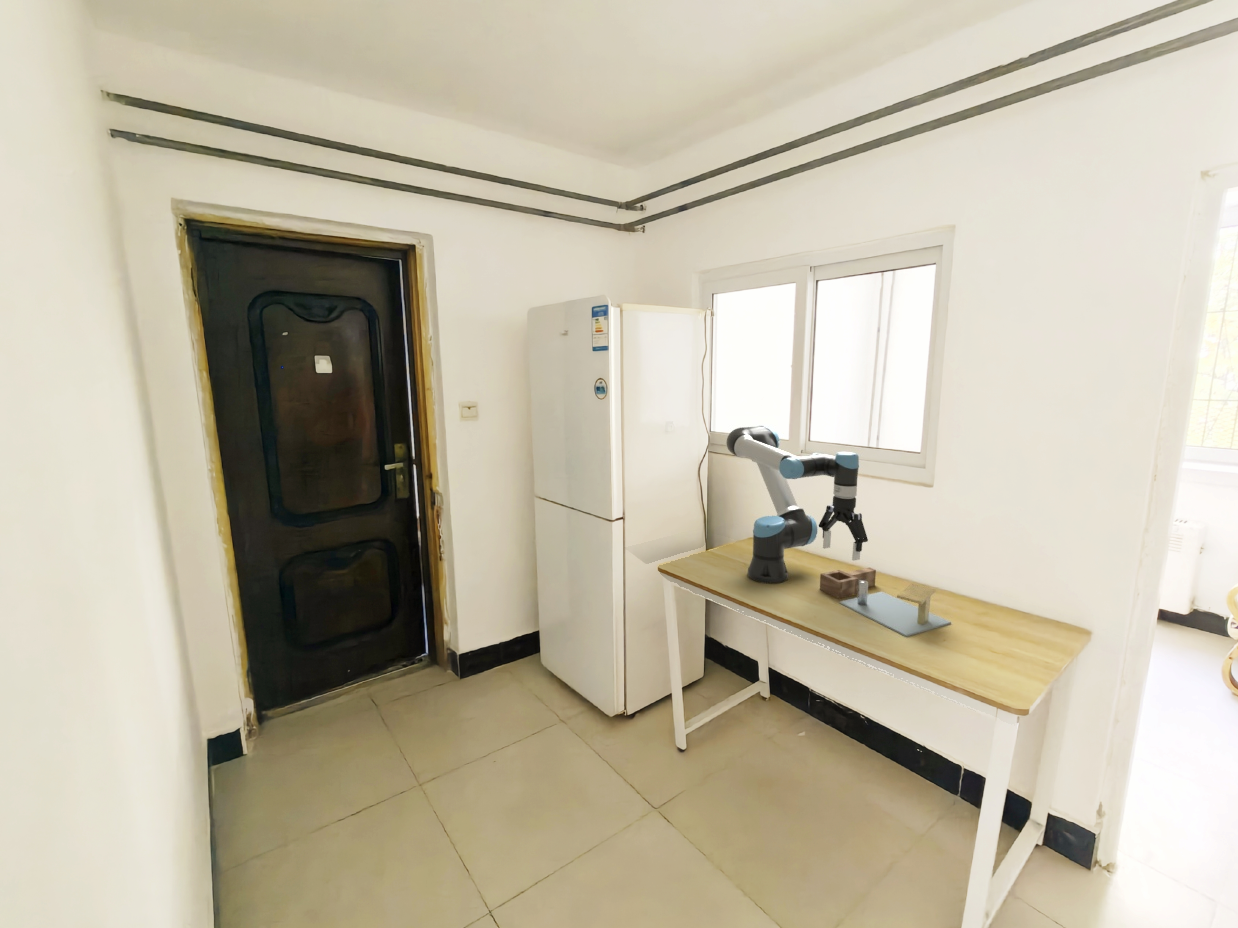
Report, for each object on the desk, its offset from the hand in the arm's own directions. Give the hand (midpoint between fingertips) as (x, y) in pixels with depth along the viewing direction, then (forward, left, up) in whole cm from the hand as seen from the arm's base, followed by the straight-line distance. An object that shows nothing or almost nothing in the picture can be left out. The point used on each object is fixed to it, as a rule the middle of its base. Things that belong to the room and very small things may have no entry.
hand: (840, 553), depth 191 cm
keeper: (+27, +4, -15) cm, 31 cm away
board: (+20, +3, -15) cm, 25 cm away
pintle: (+12, -1, -15) cm, 19 cm away
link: (0, +6, -14) cm, 16 cm away
